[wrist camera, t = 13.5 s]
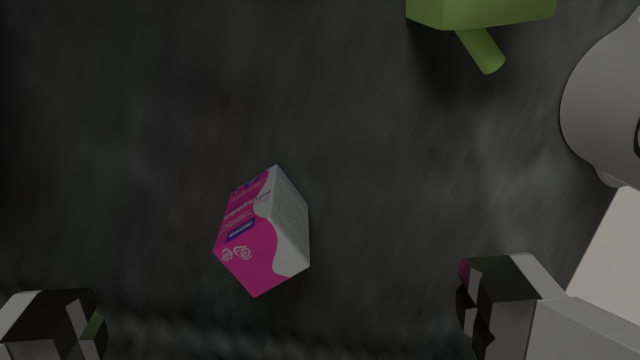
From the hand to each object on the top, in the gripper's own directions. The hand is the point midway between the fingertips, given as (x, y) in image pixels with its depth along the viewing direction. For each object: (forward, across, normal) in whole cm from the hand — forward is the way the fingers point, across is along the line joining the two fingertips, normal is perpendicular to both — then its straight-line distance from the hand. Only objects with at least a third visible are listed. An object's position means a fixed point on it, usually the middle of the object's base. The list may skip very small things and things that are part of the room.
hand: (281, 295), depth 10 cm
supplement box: (+33, +3, +14) cm, 36 cm away
